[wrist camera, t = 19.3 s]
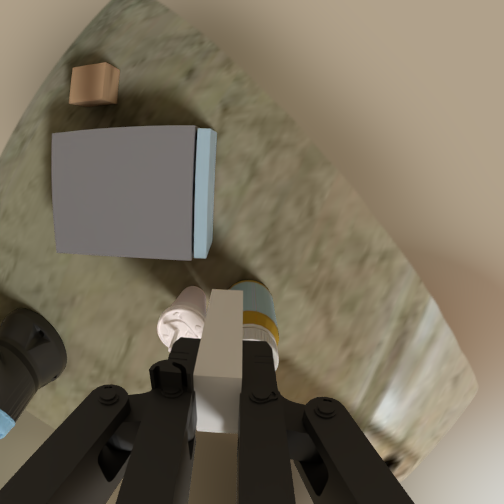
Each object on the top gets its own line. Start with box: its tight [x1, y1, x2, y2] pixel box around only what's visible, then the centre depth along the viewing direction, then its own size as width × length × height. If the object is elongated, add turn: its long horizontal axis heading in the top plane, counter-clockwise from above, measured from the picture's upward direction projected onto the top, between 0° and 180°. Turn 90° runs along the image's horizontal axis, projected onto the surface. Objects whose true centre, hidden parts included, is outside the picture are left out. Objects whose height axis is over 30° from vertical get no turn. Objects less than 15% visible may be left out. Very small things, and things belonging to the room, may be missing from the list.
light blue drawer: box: [193, 128, 217, 258], centre depth 38 cm, size 18×14×7 cm
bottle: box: [228, 280, 279, 371], centre depth 40 cm, size 7×7×15 cm
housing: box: [52, 125, 199, 261], centre depth 38 cm, size 18×15×8 cm
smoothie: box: [157, 286, 206, 352], centre depth 40 cm, size 6×6×14 cm
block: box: [69, 62, 120, 107], centre depth 35 cm, size 5×5×5 cm
